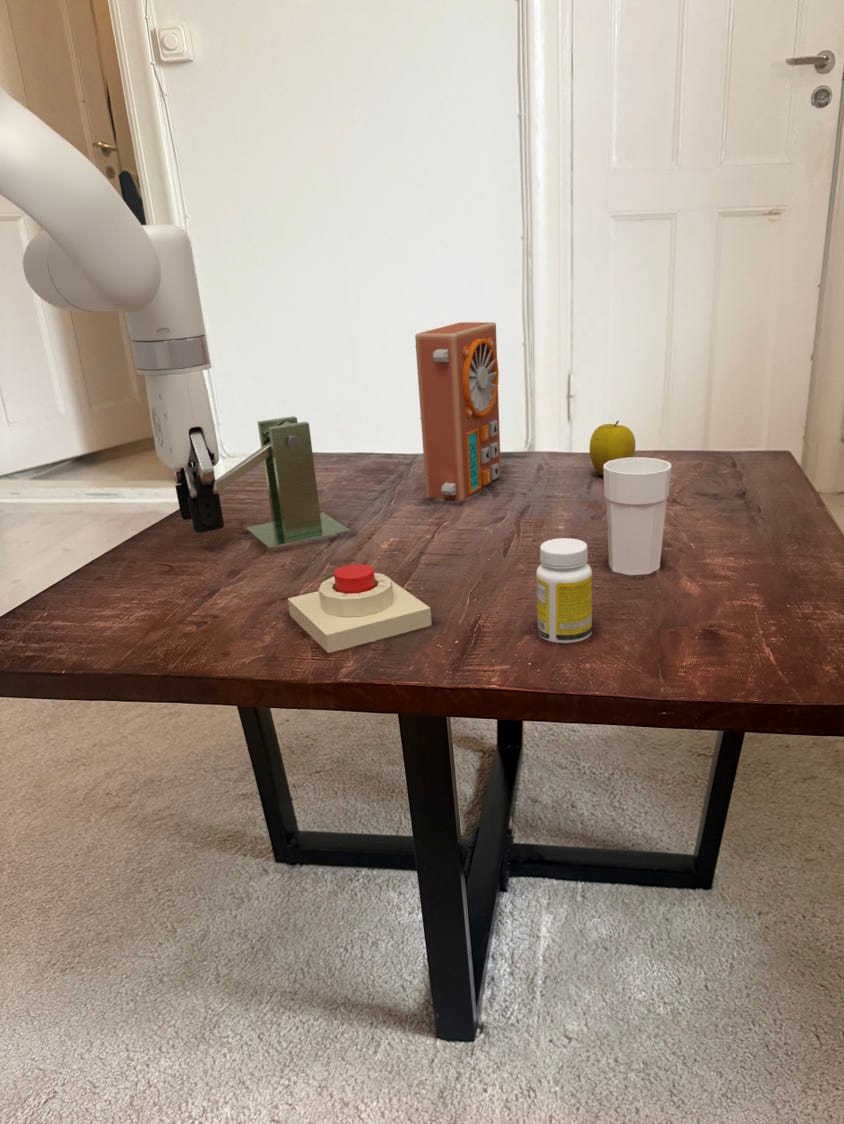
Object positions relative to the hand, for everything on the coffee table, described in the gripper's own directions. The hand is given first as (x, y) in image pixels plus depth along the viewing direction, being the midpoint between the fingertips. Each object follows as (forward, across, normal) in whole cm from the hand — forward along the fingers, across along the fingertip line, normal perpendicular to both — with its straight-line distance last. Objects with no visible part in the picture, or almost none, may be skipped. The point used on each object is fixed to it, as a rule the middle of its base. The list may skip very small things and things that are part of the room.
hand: (202, 521), depth 100 cm
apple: (+4, +1, +57) cm, 57 cm away
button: (+1, +28, +7) cm, 29 cm away
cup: (+4, +32, +36) cm, 48 cm away
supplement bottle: (+4, +41, +21) cm, 46 cm away
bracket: (+4, 0, +11) cm, 12 cm away
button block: (+4, +28, +7) cm, 29 cm away
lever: (-4, 0, +6) cm, 8 cm away
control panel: (+4, -4, +36) cm, 36 cm away
